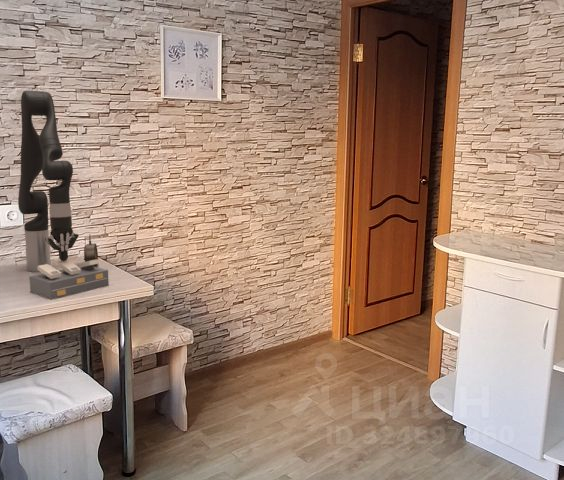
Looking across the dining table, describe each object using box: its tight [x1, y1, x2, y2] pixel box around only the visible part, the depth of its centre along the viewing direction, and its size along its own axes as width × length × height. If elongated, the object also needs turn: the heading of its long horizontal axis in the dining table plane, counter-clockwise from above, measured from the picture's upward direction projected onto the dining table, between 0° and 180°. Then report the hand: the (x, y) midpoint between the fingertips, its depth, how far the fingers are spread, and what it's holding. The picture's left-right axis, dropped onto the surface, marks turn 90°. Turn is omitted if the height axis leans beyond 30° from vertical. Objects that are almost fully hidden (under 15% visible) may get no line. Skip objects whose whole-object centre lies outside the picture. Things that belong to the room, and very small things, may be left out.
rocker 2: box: [57, 259, 81, 275], centre depth 218 cm, size 9×4×2 cm, turn 52°
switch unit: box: [28, 265, 110, 300], centre depth 219 cm, size 14×24×7 cm, turn 142°
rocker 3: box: [76, 258, 100, 267], centre depth 224 cm, size 9×4×2 cm, turn 52°
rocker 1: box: [37, 264, 61, 279], centre depth 212 cm, size 9×4×2 cm, turn 52°
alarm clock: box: [83, 233, 100, 268], centre depth 243 cm, size 11×5×16 cm, turn 13°
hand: (63, 260), depth 220 cm, fingers closed
